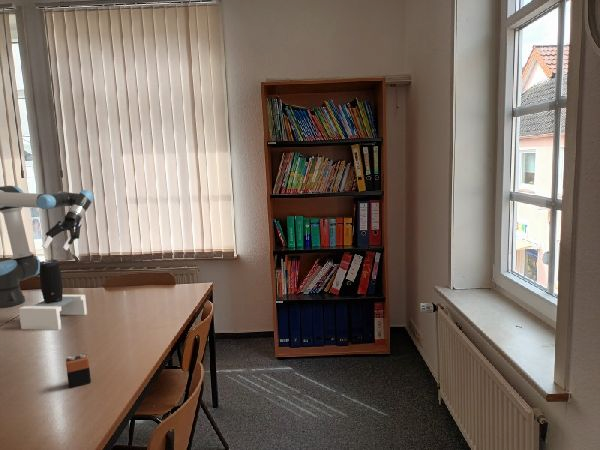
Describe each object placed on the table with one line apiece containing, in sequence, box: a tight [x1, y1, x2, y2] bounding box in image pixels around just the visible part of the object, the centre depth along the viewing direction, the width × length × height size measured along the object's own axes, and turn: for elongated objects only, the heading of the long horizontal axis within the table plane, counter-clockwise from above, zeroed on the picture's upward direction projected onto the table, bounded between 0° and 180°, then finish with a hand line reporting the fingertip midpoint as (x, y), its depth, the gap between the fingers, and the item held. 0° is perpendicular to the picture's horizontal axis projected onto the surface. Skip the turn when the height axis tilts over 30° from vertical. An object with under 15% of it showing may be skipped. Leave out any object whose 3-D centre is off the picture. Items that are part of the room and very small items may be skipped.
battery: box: [65, 353, 92, 389], centre depth 159 cm, size 4×7×10 cm, turn 120°
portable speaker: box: [38, 259, 64, 303], centre depth 222 cm, size 9×9×20 cm
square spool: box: [18, 293, 88, 331], centre depth 224 cm, size 22×19×10 cm
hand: (54, 248), depth 236 cm, fingers open, 13 cm apart
